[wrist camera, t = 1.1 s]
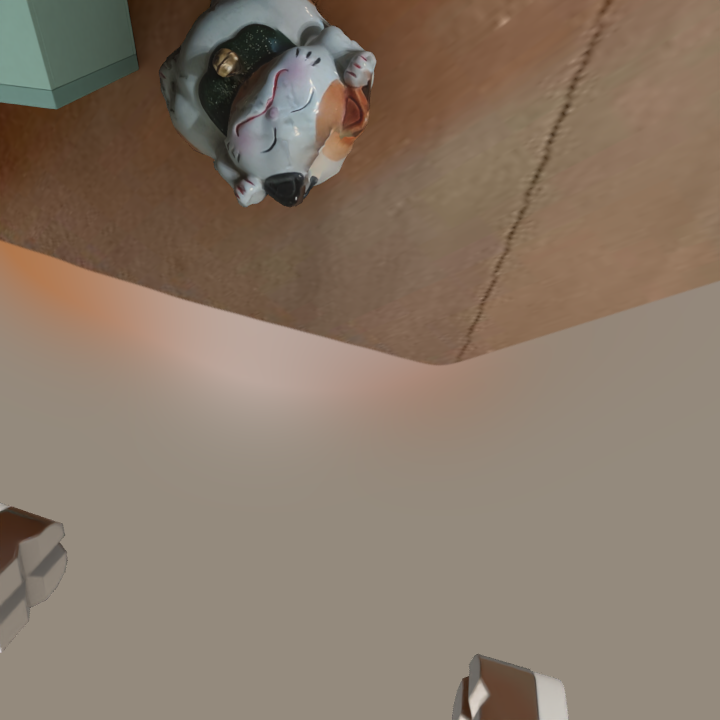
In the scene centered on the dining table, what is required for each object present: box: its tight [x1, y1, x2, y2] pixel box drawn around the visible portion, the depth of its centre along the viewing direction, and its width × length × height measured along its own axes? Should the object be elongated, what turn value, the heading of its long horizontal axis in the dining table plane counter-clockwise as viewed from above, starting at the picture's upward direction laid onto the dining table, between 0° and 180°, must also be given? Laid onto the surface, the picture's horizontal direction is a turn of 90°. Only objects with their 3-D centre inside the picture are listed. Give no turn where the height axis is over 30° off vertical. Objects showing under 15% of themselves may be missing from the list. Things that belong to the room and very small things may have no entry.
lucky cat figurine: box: [159, 0, 376, 207], centre depth 39 cm, size 15×12×14 cm
